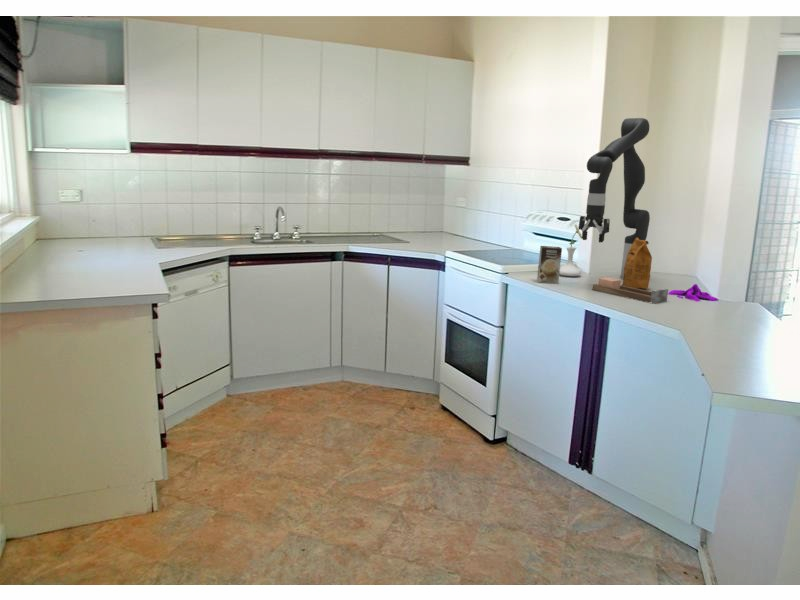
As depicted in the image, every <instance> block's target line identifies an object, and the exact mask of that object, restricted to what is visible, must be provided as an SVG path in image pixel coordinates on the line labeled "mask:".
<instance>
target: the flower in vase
mask: <svg viewBox="0 0 800 600" xmlns="http://www.w3.org/2000/svg"><path fill="white" fill-rule="evenodd" d="M574 227H575V233H574V234H573V235H572V238H571V241H570V242H569V245H570V246H566V247H565V248H566V250H567V261H566V263H565V264H563V265H562V266H560V272H559V276H560V275H561V276H565V277H577V276H580V275H581V274H582V271H581V270H580V269H579V268H578V267H577V266H576V265H575V264H574V261H573V259H574V253H575V250H577V247H575V246H573V245H575V241H574V237H575V235H576V234H577V235H578V236H579V238H580V239H583V238H582V233H581V232H580V229H579V226H578V225H577V223H575V224H574Z"/></svg>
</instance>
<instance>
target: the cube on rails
mask: <svg viewBox="0 0 800 600" xmlns="http://www.w3.org/2000/svg"><path fill="white" fill-rule="evenodd" d="M591 288H592V289H591V290H592V291H595V292H600V293H605V294H608V295H614V296H617V295H618V297H622V296H623V297H622V298H626V297H628V298H627V299H631V298H633V300H635V299H637V300H636V301H640V300H642V301H641V302H644V301H647V302H646V303H649V302H652V303H651V304H653V303H654V304H659V303H664V302H667V301H668V295H669V294H668V293H669V288H659V289H654V290H651V291H649V290H645V289H636V288H631V287H626V286H623V285H622V284H621V285H620V289H616V288H611V287H607V286H602V285H598V284H596V283H594V284H592V287H591ZM658 302H659V303H658Z"/></svg>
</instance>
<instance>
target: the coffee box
mask: <svg viewBox="0 0 800 600" xmlns="http://www.w3.org/2000/svg"><path fill="white" fill-rule="evenodd" d="M562 252H563V248H562V247H560V246H553V245H552V246H547V245H540V248H539V256H538V265H537V267H538V269H537V277H536V280H537V282H538V283H547V284H559V281H560V274H559V272H560V267H561V262H562V260H561V259H562Z"/></svg>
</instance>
